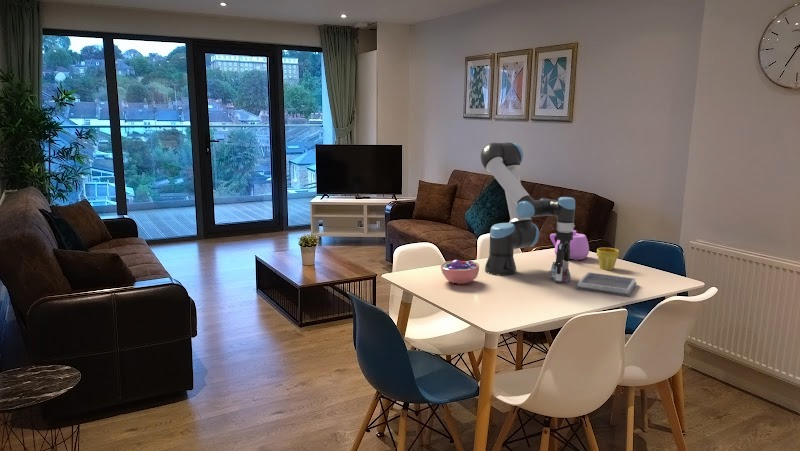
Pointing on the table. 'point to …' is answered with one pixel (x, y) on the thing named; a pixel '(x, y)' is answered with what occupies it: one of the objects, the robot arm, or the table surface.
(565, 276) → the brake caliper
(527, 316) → the table surface
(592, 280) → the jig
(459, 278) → the cell model
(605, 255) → the plant pot
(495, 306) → the table surface
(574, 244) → the teapot
